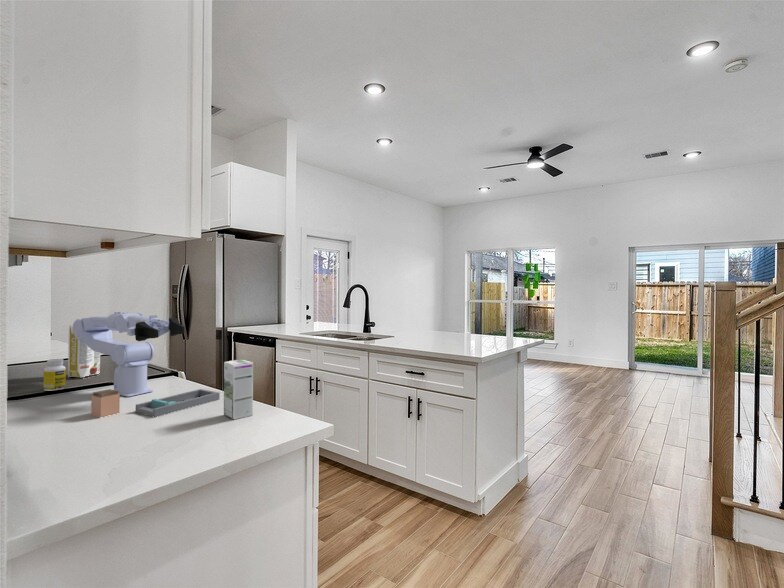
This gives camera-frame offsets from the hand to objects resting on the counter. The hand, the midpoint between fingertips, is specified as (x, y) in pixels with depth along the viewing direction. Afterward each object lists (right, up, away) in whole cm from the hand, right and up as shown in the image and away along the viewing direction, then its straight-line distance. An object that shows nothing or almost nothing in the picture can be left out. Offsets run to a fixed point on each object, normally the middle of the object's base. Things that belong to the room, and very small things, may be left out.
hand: (170, 332), depth 117 cm
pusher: (+2, -21, -5) cm, 21 cm away
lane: (+3, -21, -1) cm, 21 cm away
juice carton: (-49, -19, +31) cm, 61 cm away
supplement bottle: (-43, -20, +11) cm, 49 cm away
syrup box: (+23, -22, -9) cm, 33 cm away
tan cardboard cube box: (-11, -21, -11) cm, 26 cm away
